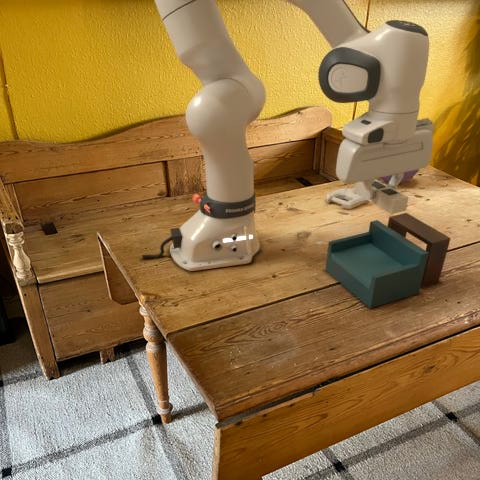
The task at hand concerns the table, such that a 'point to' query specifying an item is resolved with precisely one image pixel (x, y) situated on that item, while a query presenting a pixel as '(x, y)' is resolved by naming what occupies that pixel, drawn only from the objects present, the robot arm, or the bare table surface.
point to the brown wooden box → (429, 236)
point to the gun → (348, 195)
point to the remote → (385, 197)
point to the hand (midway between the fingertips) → (379, 196)
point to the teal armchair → (377, 265)
